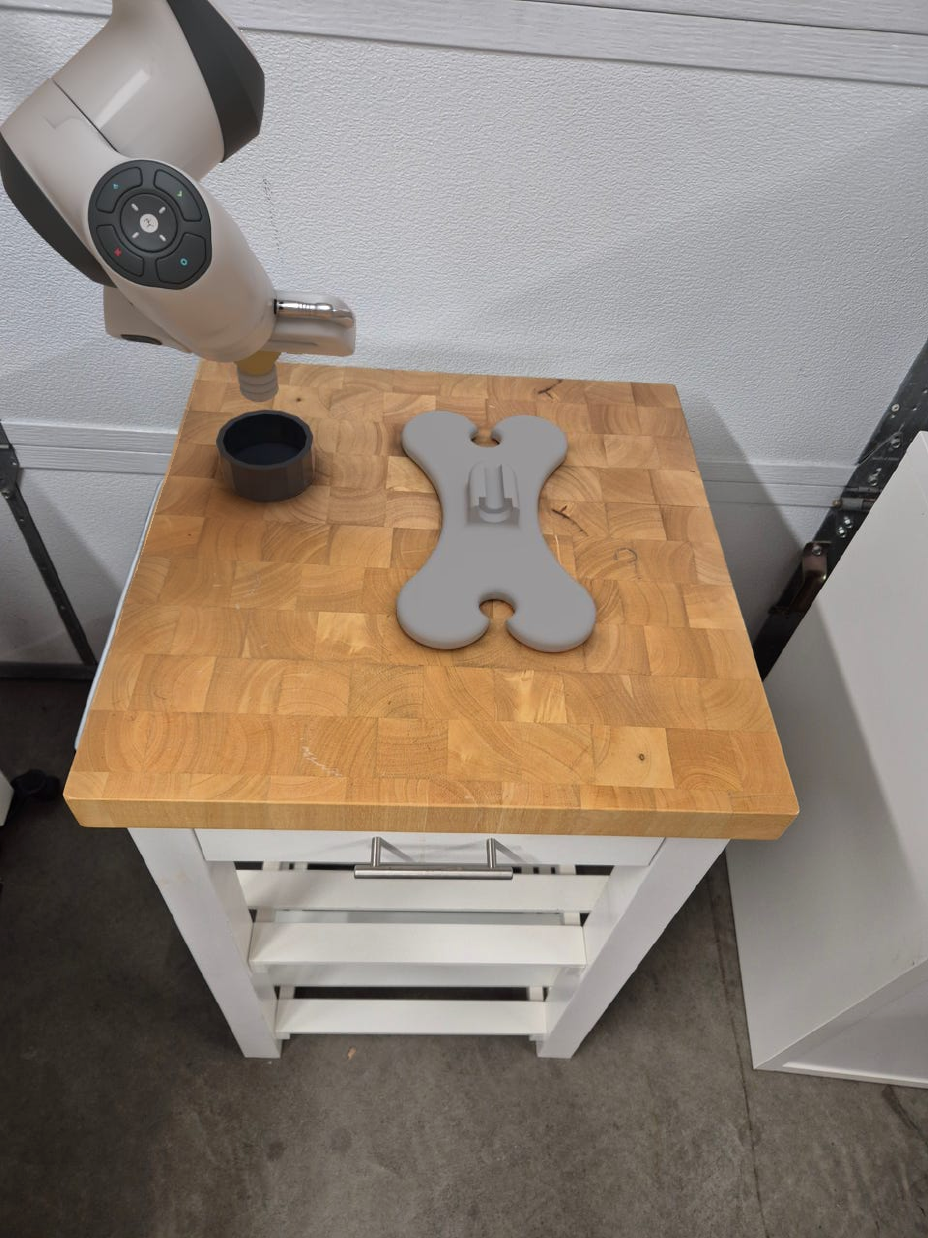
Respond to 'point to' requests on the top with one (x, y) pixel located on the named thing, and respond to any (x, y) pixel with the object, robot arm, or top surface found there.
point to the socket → (266, 455)
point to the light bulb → (258, 376)
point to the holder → (491, 537)
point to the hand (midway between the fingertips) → (254, 342)
